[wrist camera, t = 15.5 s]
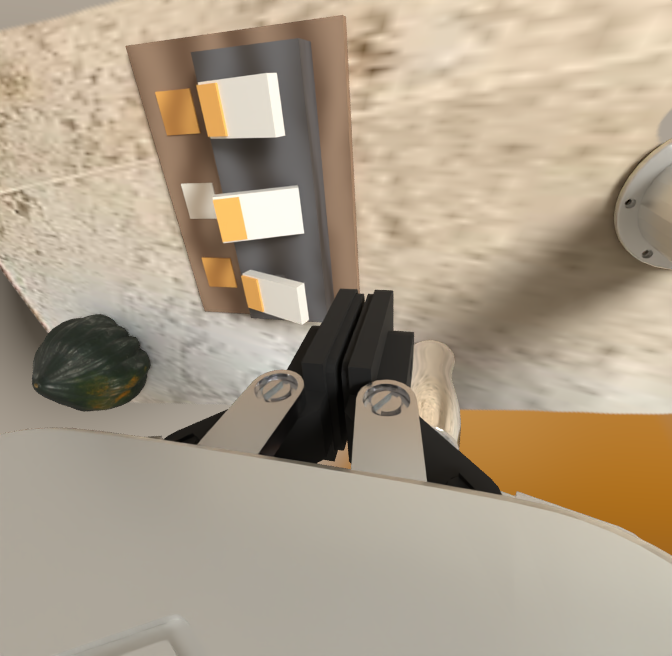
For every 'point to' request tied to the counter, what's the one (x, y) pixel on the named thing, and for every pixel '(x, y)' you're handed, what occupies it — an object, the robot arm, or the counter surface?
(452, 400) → the beige tall curved piece
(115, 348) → the squash
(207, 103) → the plate
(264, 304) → the block
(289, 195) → the block
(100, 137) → the counter surface
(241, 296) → the switch unit
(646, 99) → the counter surface
